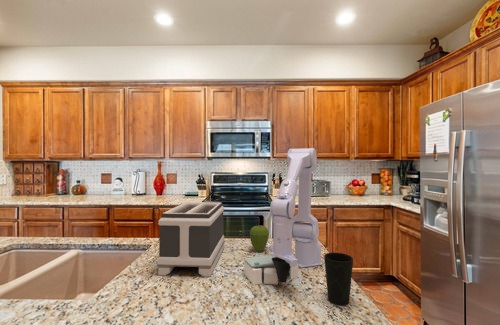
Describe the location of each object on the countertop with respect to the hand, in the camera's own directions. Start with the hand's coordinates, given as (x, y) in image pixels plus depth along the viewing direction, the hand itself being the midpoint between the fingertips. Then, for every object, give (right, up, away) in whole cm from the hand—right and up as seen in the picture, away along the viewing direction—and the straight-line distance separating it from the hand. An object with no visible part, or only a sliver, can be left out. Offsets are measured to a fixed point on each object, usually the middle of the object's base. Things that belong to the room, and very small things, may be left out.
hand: (282, 281), depth 80 cm
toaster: (-31, -2, +24) cm, 39 cm away
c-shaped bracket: (-3, -2, +8) cm, 9 cm away
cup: (+15, -2, -8) cm, 17 cm away
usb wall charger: (-2, -2, +3) cm, 4 cm away
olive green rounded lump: (-6, -2, +34) cm, 34 cm away
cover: (-3, +3, +9) cm, 10 cm away
